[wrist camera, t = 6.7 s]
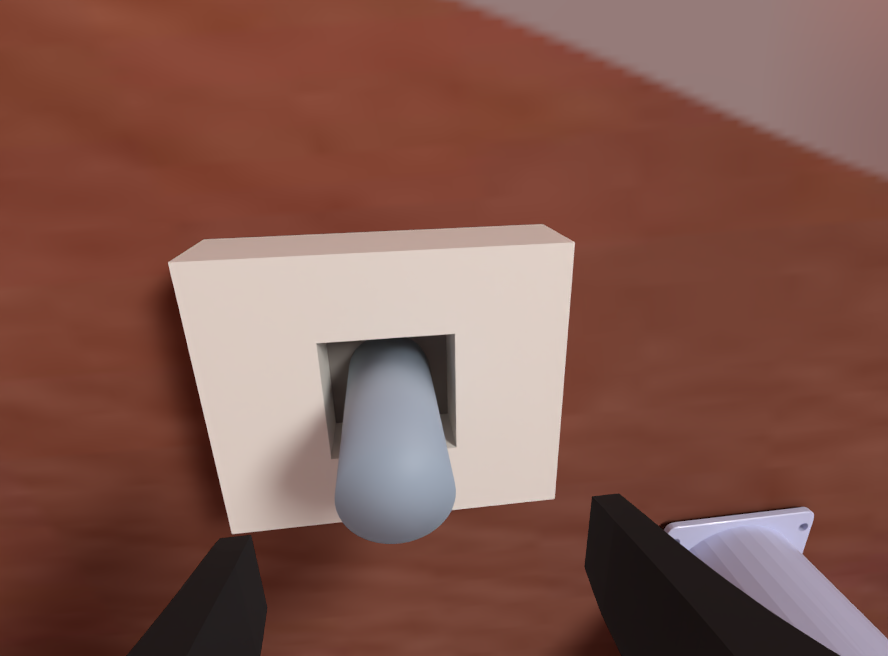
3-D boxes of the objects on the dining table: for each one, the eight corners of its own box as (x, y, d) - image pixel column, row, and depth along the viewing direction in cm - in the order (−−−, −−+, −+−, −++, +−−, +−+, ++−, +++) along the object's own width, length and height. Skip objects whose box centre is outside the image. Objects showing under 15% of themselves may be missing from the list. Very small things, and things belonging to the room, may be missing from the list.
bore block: (530, 449, 22) (554, 498, 19) (252, 476, 21) (232, 534, 18) (542, 224, 18) (574, 242, 15) (203, 239, 17) (168, 262, 14)
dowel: (431, 400, 19) (458, 535, 13) (354, 408, 19) (343, 551, 13) (425, 329, 18) (452, 439, 12) (343, 338, 18) (326, 455, 12)
